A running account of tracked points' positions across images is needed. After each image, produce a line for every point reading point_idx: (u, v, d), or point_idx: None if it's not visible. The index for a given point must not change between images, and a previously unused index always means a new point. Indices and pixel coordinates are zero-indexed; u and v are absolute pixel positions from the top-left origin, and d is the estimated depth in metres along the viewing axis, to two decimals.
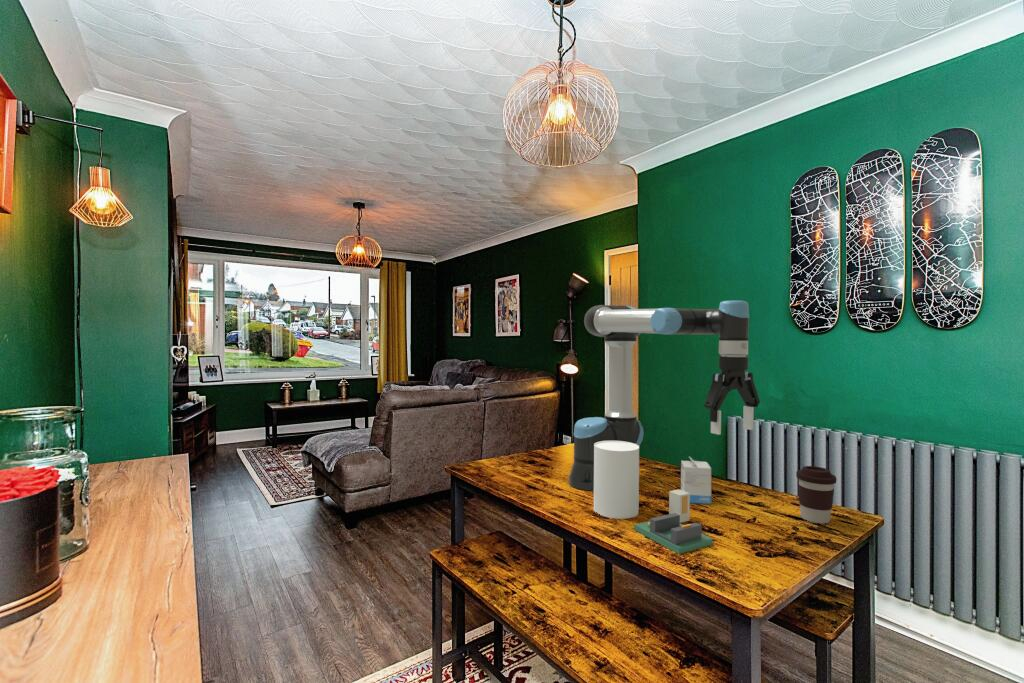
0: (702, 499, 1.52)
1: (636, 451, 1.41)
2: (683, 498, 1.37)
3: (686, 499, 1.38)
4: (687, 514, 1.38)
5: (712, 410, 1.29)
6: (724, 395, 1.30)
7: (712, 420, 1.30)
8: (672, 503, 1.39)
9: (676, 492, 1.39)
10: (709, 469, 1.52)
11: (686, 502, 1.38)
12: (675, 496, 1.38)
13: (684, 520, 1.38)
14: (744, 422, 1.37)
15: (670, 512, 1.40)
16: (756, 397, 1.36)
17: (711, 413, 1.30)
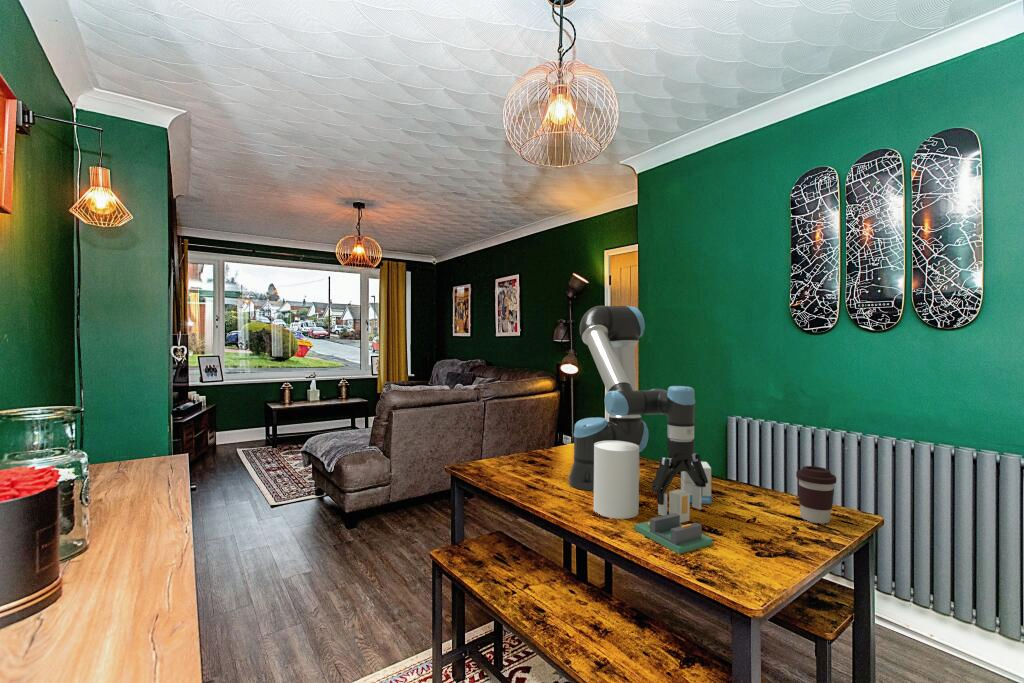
0: (702, 499, 1.52)
1: (636, 451, 1.41)
2: (683, 498, 1.37)
3: (686, 499, 1.38)
4: (687, 514, 1.38)
5: (658, 493, 1.35)
6: (670, 478, 1.36)
7: (659, 503, 1.35)
8: (672, 503, 1.39)
9: (676, 492, 1.39)
10: (709, 469, 1.52)
11: (686, 502, 1.38)
12: (675, 496, 1.38)
13: (684, 520, 1.38)
14: (693, 501, 1.43)
15: (670, 512, 1.40)
16: (704, 477, 1.42)
17: (658, 496, 1.36)
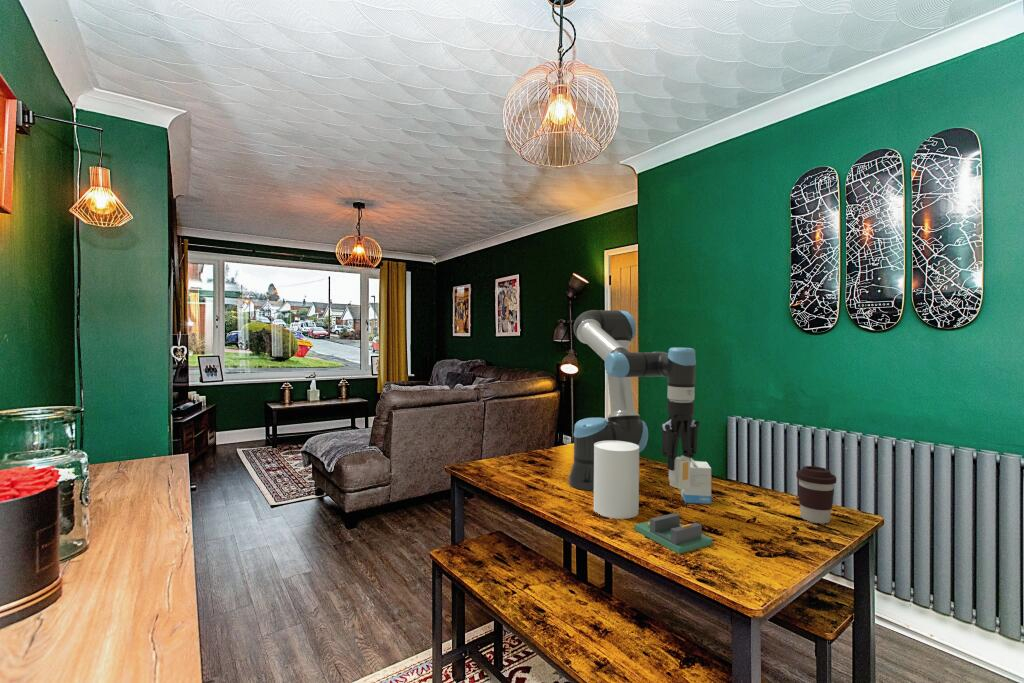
0: (702, 499, 1.52)
1: (636, 451, 1.41)
2: (684, 464, 1.37)
3: (687, 465, 1.38)
4: (688, 481, 1.38)
5: (669, 459, 1.37)
6: (676, 442, 1.37)
7: (669, 468, 1.38)
8: None
9: (677, 459, 1.39)
10: (709, 469, 1.52)
11: (687, 468, 1.38)
12: None
13: (685, 486, 1.38)
14: None
15: None
16: (694, 446, 1.40)
17: (669, 462, 1.38)
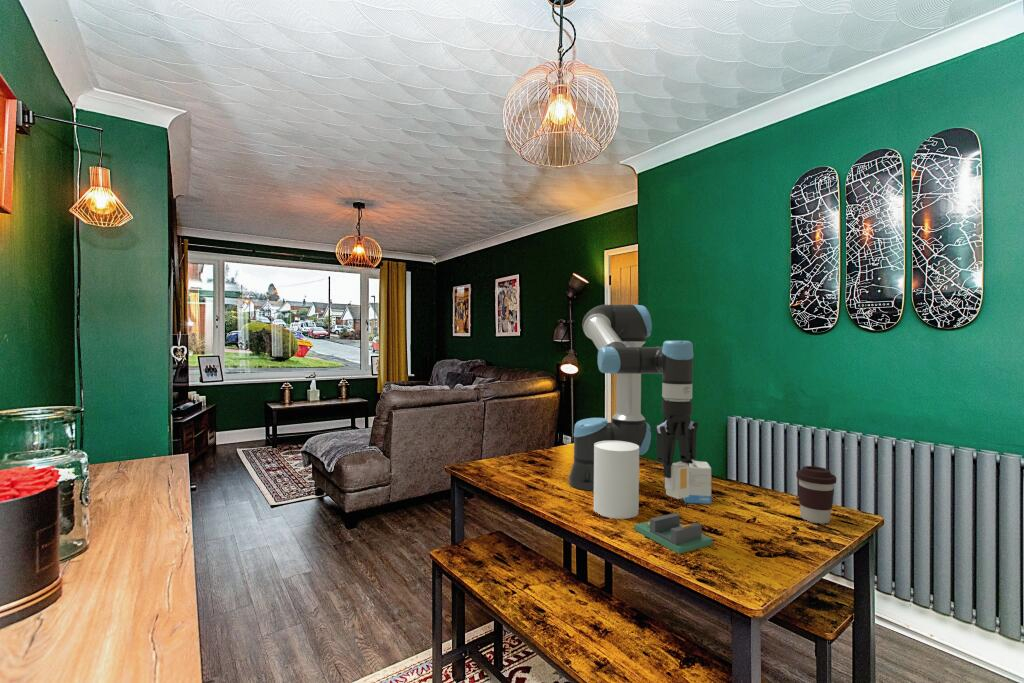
0: (702, 499, 1.52)
1: (636, 451, 1.41)
2: (681, 471, 1.22)
3: (685, 472, 1.23)
4: (686, 489, 1.23)
5: (665, 465, 1.23)
6: (673, 446, 1.22)
7: (665, 476, 1.23)
8: None
9: None
10: (709, 469, 1.52)
11: (685, 476, 1.23)
12: None
13: (683, 496, 1.23)
14: None
15: None
16: (693, 451, 1.26)
17: (664, 468, 1.23)
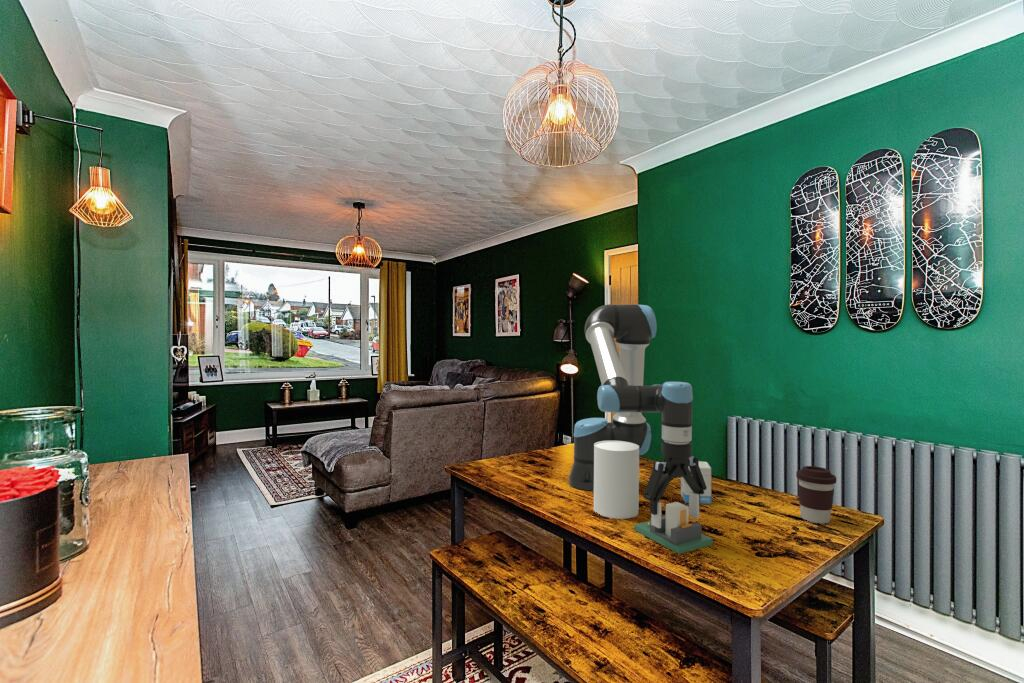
0: (702, 499, 1.52)
1: (636, 451, 1.41)
2: (681, 512, 1.22)
3: (685, 513, 1.23)
4: None
5: (652, 502, 1.21)
6: (665, 485, 1.21)
7: (652, 512, 1.21)
8: (669, 517, 1.24)
9: (673, 505, 1.24)
10: (709, 469, 1.52)
11: (685, 517, 1.23)
12: (672, 510, 1.23)
13: None
14: (690, 509, 1.29)
15: (667, 528, 1.25)
16: (702, 483, 1.28)
17: (651, 505, 1.21)
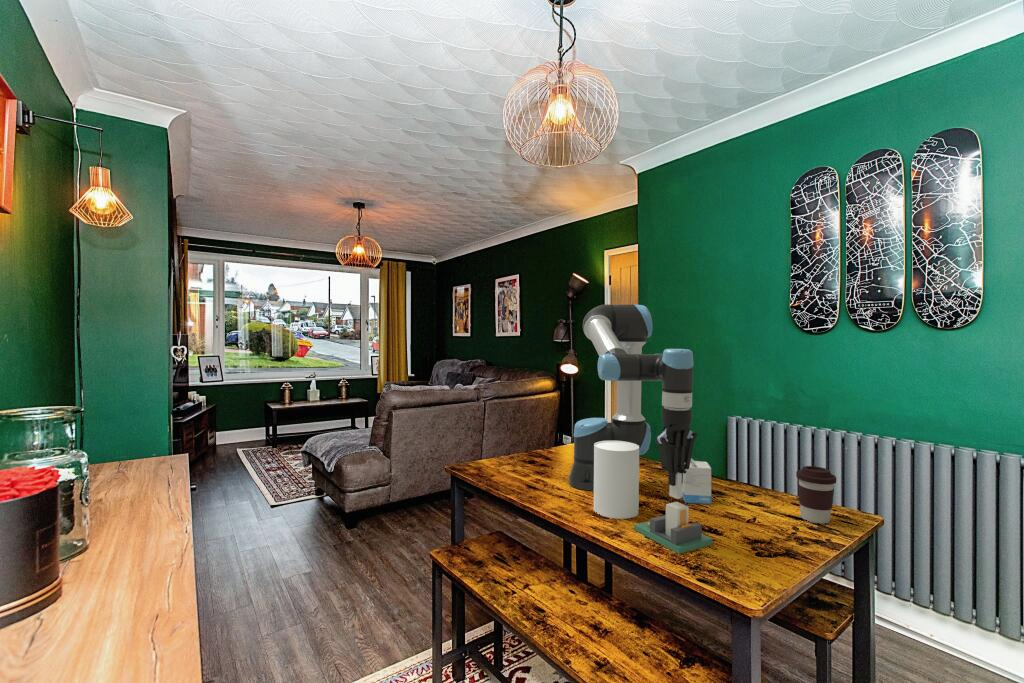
0: (702, 499, 1.52)
1: (636, 451, 1.41)
2: (681, 512, 1.22)
3: (685, 513, 1.23)
4: None
5: (670, 473, 1.24)
6: (675, 455, 1.23)
7: (670, 483, 1.24)
8: (669, 517, 1.24)
9: (673, 505, 1.24)
10: (709, 469, 1.52)
11: (685, 517, 1.23)
12: (672, 510, 1.23)
13: None
14: None
15: (667, 528, 1.25)
16: (688, 460, 1.25)
17: (669, 476, 1.24)
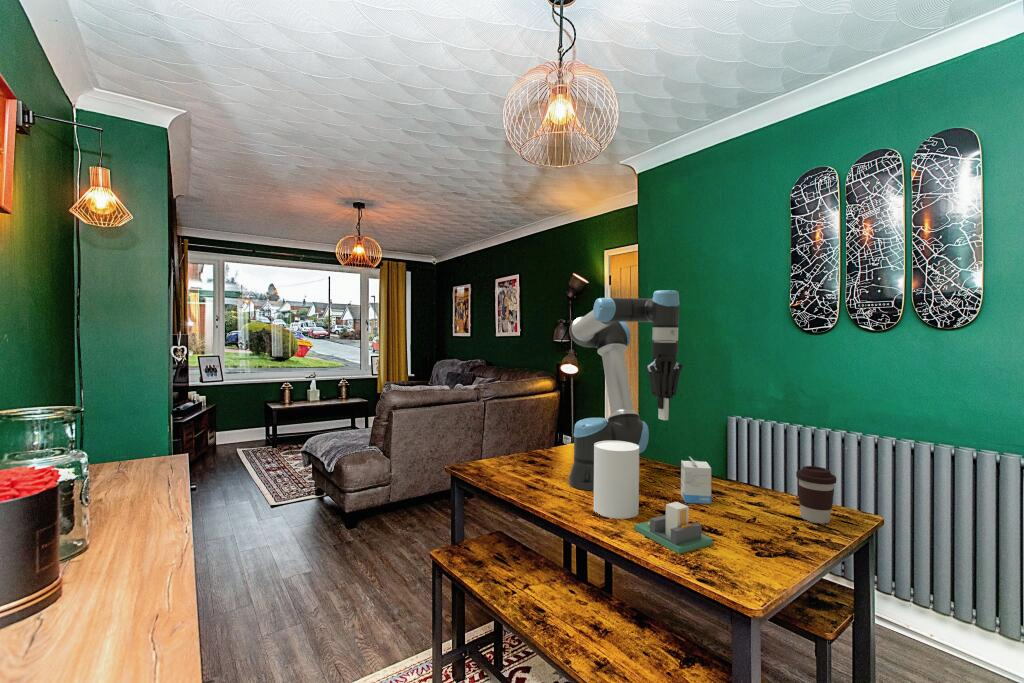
0: (702, 499, 1.52)
1: (636, 451, 1.41)
2: (681, 512, 1.22)
3: (685, 513, 1.23)
4: None
5: (659, 398, 1.43)
6: (663, 382, 1.42)
7: (659, 407, 1.43)
8: (669, 517, 1.24)
9: (673, 505, 1.24)
10: (709, 469, 1.52)
11: (685, 517, 1.23)
12: (672, 510, 1.23)
13: None
14: None
15: (667, 528, 1.25)
16: (674, 388, 1.44)
17: (658, 401, 1.44)
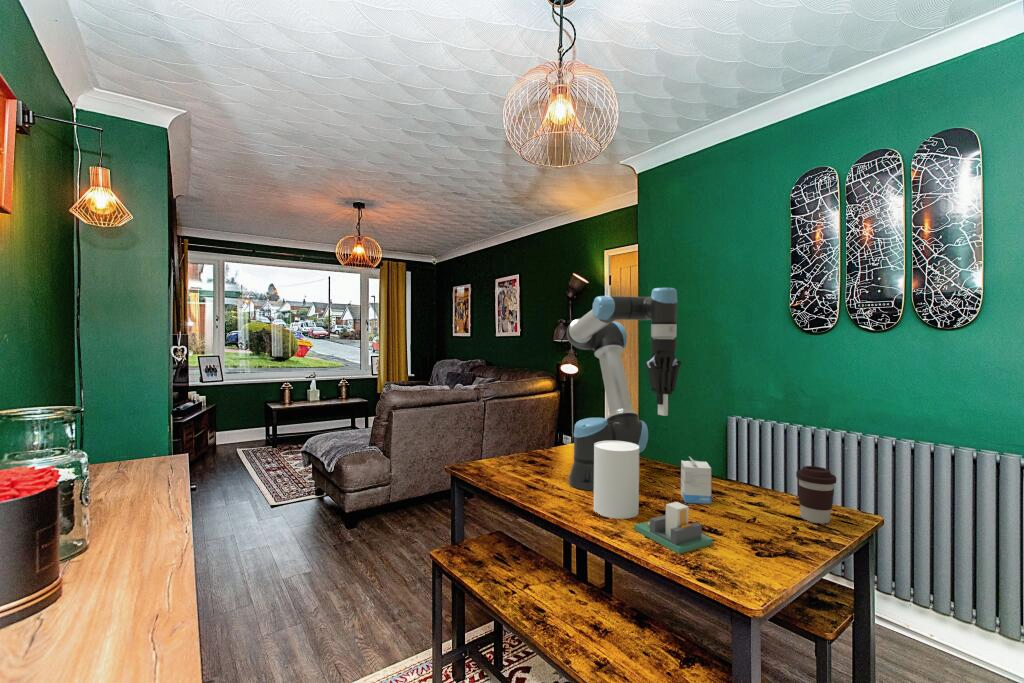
0: (702, 499, 1.52)
1: (636, 451, 1.41)
2: (681, 512, 1.22)
3: (685, 513, 1.23)
4: None
5: (658, 394, 1.45)
6: (662, 378, 1.45)
7: (658, 403, 1.45)
8: (669, 517, 1.24)
9: (673, 505, 1.24)
10: (709, 469, 1.52)
11: (685, 517, 1.23)
12: (672, 510, 1.23)
13: None
14: None
15: (667, 528, 1.25)
16: (673, 384, 1.47)
17: (657, 397, 1.46)
